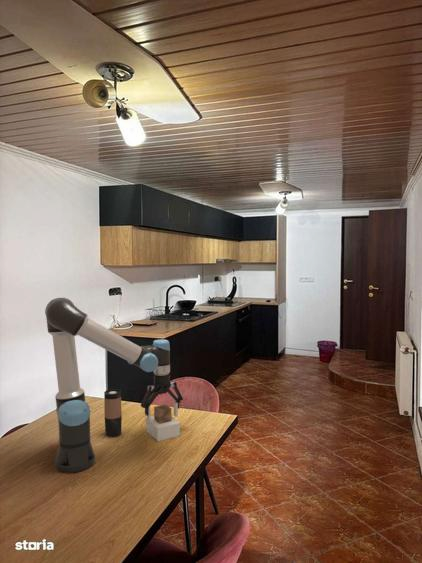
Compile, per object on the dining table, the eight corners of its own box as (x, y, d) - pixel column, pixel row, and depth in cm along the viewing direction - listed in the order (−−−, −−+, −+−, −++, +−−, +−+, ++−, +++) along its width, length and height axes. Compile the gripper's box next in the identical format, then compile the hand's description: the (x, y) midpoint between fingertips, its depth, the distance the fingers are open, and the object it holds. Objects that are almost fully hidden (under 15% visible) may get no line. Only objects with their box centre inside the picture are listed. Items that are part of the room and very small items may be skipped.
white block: (157, 441, 177) (157, 428, 177) (145, 430, 189) (145, 417, 189) (180, 435, 183) (179, 422, 183) (167, 425, 195) (167, 413, 195)
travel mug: (124, 431, 189) (123, 389, 188) (118, 438, 181) (117, 394, 180) (108, 430, 189) (107, 388, 189) (102, 437, 182) (101, 394, 181)
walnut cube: (159, 423, 182) (159, 410, 181) (154, 419, 187) (154, 406, 186) (171, 421, 185) (171, 408, 184) (166, 416, 190) (165, 404, 190)
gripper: (139, 379, 175) (139, 427, 176) (189, 371, 188) (190, 415, 189) (133, 375, 182) (133, 421, 183) (182, 367, 194) (182, 411, 195)
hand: (162, 418), depth 186 cm, fingers open, 13 cm apart
